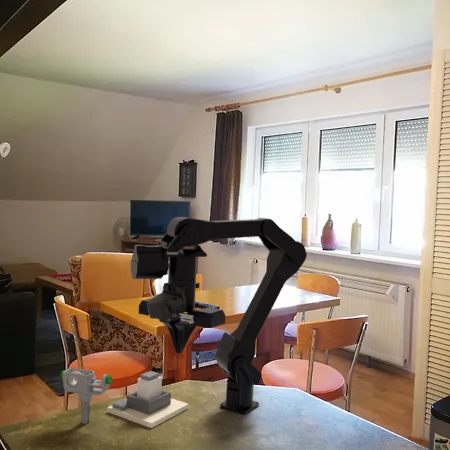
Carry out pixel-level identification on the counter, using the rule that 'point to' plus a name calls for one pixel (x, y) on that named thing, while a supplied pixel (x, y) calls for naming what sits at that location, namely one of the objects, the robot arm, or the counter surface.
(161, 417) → the board
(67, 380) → the mechanical component
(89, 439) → the counter surface
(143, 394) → the plug
